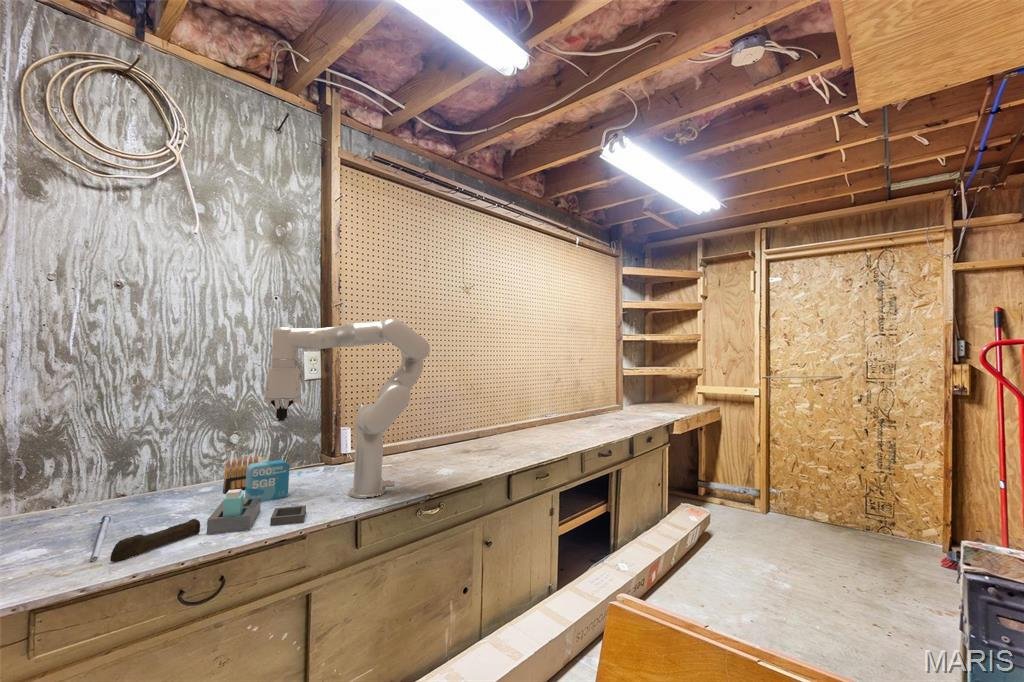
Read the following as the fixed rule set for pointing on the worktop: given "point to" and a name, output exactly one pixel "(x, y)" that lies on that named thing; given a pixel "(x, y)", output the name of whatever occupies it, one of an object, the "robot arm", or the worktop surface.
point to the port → (234, 518)
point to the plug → (233, 503)
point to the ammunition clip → (236, 474)
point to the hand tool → (152, 540)
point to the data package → (267, 480)
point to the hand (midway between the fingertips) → (281, 420)
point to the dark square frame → (288, 515)
